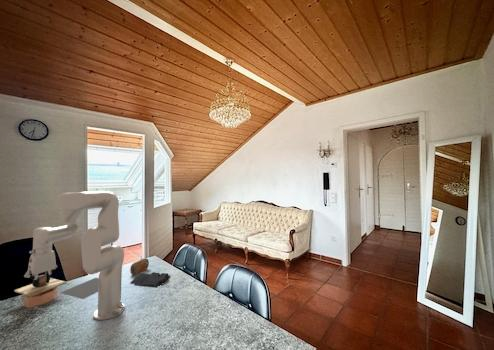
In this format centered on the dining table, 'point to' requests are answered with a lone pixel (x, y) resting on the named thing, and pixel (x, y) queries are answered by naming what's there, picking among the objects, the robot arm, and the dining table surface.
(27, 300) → the terracotta bowl
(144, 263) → the tin
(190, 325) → the dining table surface
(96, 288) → the rubber mat
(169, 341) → the dining table surface
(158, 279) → the dark slate chunk
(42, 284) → the beech lid
